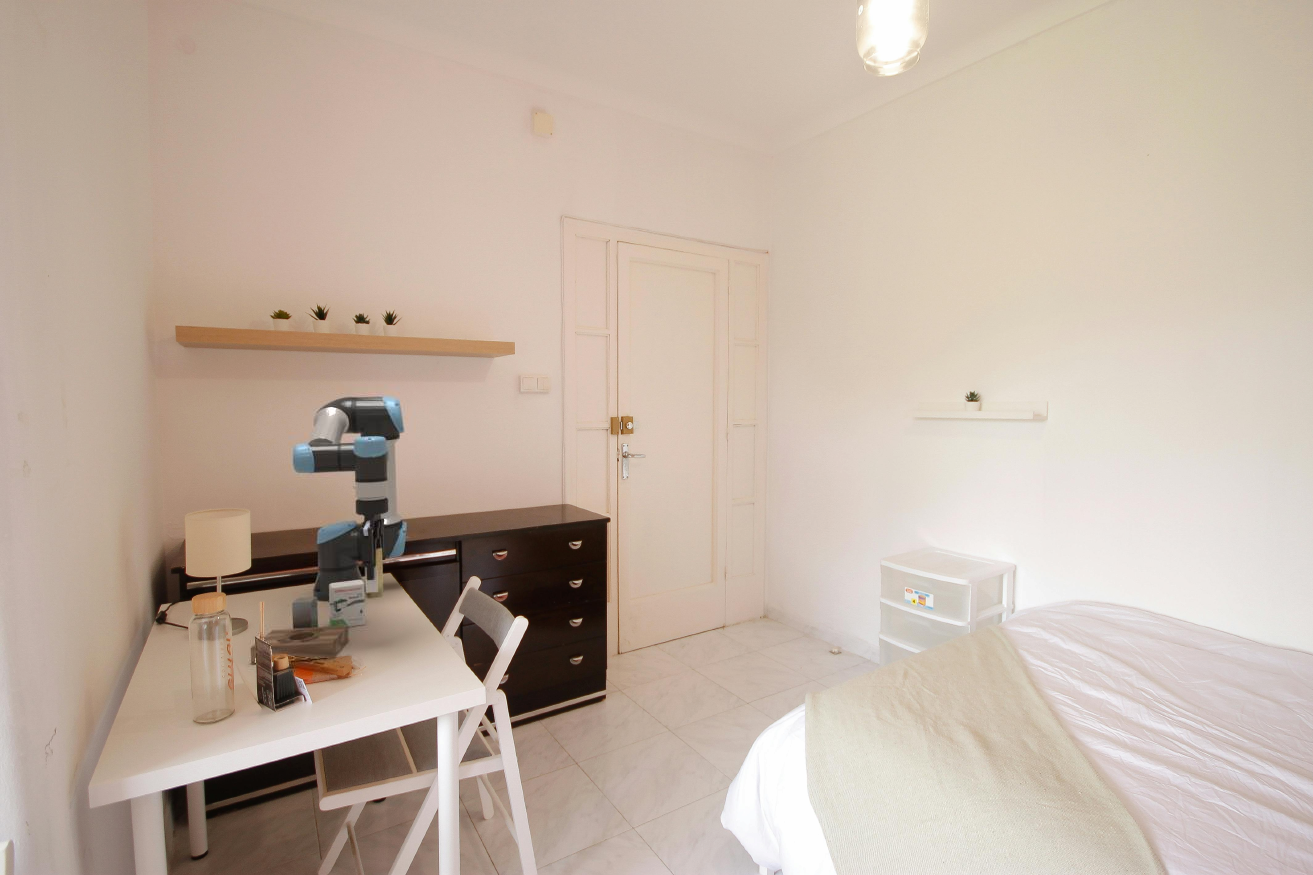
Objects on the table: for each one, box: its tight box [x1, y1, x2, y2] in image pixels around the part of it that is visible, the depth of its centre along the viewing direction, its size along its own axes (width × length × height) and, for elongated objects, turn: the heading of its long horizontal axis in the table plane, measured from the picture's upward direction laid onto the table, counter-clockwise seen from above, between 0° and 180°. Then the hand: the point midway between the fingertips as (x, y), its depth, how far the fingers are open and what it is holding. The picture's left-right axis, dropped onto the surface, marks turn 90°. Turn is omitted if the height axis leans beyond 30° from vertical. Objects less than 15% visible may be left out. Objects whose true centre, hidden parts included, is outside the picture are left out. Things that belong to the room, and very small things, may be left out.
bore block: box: [250, 625, 350, 665], centre depth 154 cm, size 12×18×4 cm, turn 100°
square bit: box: [291, 596, 319, 629], centre depth 165 cm, size 4×4×10 cm
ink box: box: [328, 580, 366, 628], centre depth 174 cm, size 9×5×12 cm, turn 123°
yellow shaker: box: [365, 547, 384, 599], centre depth 158 cm, size 4×4×12 cm
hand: (374, 588), depth 158 cm, fingers closed on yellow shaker, 4 cm apart
